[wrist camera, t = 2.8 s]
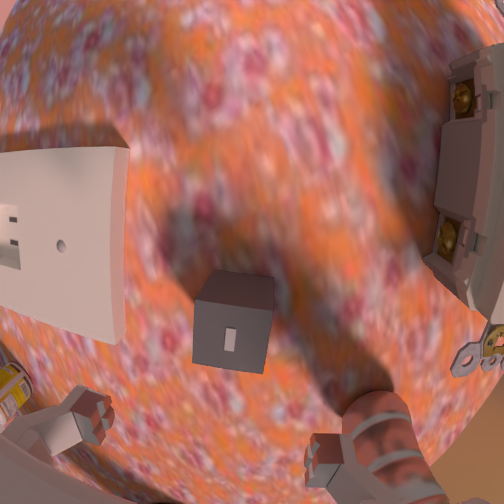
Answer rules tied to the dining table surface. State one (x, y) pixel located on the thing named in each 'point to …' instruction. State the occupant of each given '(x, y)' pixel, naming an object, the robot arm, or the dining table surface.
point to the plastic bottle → (391, 447)
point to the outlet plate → (65, 238)
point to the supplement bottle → (13, 390)
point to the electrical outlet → (473, 200)
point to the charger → (233, 321)
